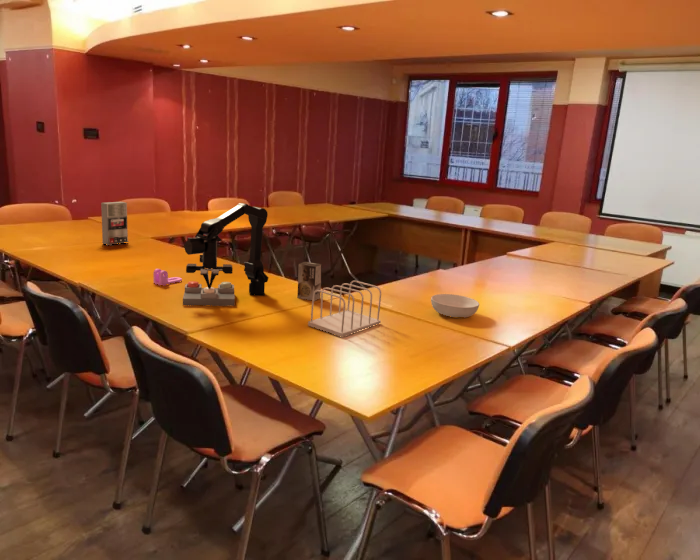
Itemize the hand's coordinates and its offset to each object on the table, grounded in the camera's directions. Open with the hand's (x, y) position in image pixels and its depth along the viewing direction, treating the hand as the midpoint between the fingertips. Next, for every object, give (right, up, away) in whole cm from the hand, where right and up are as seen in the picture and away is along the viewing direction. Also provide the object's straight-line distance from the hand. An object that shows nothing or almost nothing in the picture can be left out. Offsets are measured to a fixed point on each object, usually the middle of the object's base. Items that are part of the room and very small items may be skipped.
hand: (209, 288), depth 237 cm
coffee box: (+40, -5, +20) cm, 45 cm away
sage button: (+5, -1, +11) cm, 12 cm away
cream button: (0, -3, +1) cm, 3 cm away
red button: (-9, -1, +8) cm, 12 cm away
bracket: (-26, +2, +29) cm, 39 cm away
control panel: (-1, -5, +6) cm, 8 cm away
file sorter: (+57, -15, -14) cm, 61 cm away
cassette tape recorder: (-83, +25, +103) cm, 134 cm away
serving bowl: (+105, -12, +11) cm, 106 cm away
